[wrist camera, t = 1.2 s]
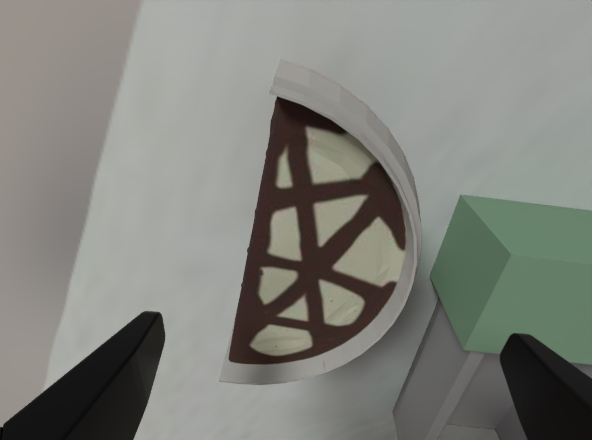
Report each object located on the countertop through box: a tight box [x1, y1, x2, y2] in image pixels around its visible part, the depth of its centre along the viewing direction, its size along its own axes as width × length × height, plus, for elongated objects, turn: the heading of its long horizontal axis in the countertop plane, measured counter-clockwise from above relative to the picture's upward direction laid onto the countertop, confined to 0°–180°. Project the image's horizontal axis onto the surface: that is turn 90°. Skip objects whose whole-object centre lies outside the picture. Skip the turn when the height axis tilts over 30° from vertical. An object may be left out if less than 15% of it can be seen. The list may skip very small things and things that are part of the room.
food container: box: [219, 59, 421, 385], centre depth 16 cm, size 12×6×10 cm, turn 167°
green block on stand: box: [393, 195, 592, 440], centre depth 23 cm, size 12×21×6 cm, turn 173°
